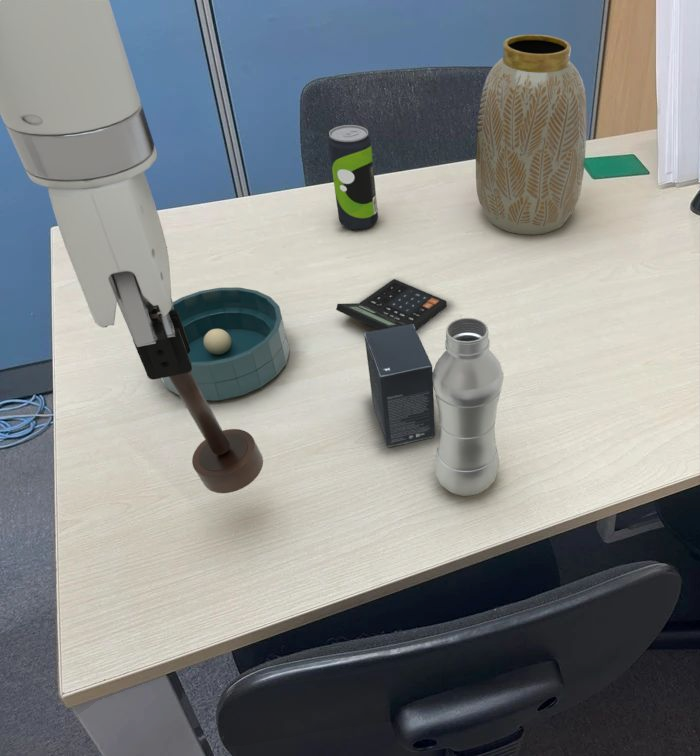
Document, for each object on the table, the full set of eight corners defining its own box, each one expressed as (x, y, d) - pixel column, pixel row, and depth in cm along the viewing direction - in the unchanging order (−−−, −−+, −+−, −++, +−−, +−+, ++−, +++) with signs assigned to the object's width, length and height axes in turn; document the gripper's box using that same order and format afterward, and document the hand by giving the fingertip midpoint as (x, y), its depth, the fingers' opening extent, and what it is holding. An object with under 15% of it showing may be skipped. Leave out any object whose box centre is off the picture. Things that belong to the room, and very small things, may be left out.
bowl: (162, 417, 80) (146, 377, 76) (159, 338, 90) (145, 300, 86) (298, 387, 84) (289, 348, 80) (280, 315, 95) (272, 278, 91)
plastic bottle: (429, 464, 76) (420, 314, 63) (489, 451, 77) (493, 303, 64) (443, 510, 71) (437, 359, 58) (506, 496, 73) (515, 346, 60)
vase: (582, 243, 111) (603, 66, 94) (473, 240, 111) (474, 61, 93) (574, 192, 124) (591, 28, 106) (476, 189, 124) (478, 24, 106)
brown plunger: (190, 489, 64) (87, 329, 51) (221, 442, 68) (132, 283, 55) (245, 497, 63) (153, 336, 50) (273, 449, 67) (195, 288, 54)
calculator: (446, 306, 98) (446, 288, 96) (392, 349, 90) (390, 330, 88) (394, 283, 101) (392, 266, 99) (338, 323, 94) (335, 305, 92)
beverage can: (361, 209, 117) (351, 120, 107) (386, 222, 114) (378, 132, 104) (331, 223, 114) (318, 132, 104) (356, 236, 111) (345, 144, 101)
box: (436, 437, 79) (433, 365, 72) (386, 449, 77) (378, 377, 70) (418, 392, 84) (413, 321, 77) (371, 402, 83) (362, 331, 76)
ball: (207, 346, 89) (203, 359, 86) (203, 324, 87) (199, 337, 84) (234, 345, 89) (231, 359, 87) (231, 323, 88) (227, 336, 85)
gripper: (31, 102, 48) (121, 317, 60) (0, 207, 37) (117, 444, 50) (149, 91, 50) (212, 301, 63) (152, 187, 39) (228, 419, 52)
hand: (170, 363), depth 56 cm, fingers closed on brown plunger
